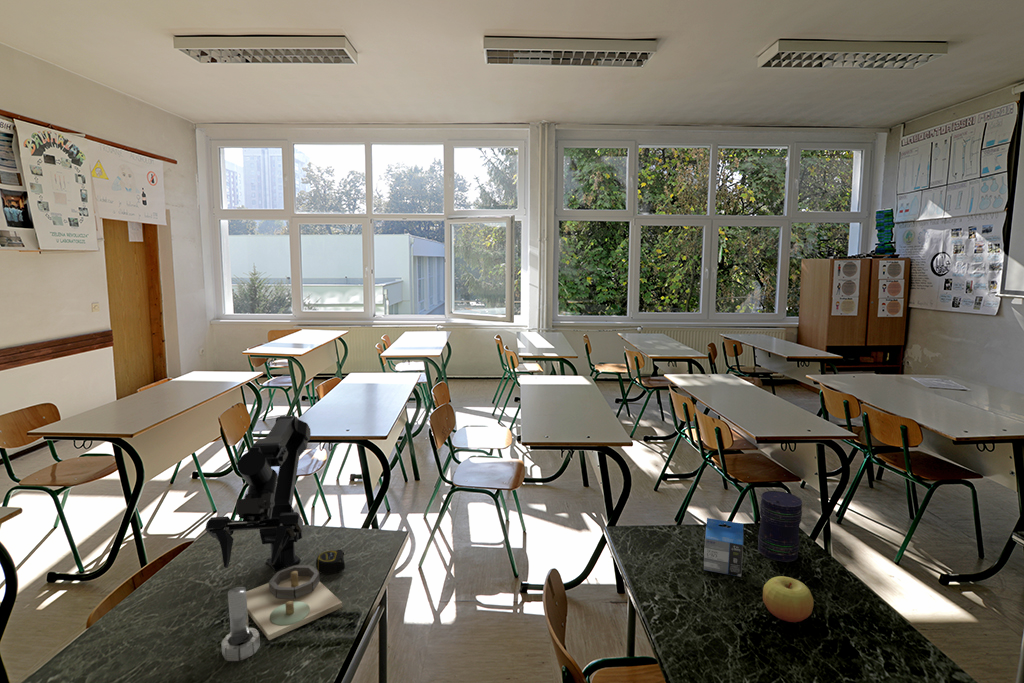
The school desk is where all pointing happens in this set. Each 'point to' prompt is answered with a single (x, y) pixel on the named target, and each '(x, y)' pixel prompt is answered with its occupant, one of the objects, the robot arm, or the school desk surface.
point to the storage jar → (779, 525)
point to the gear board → (290, 600)
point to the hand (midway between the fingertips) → (249, 565)
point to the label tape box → (723, 547)
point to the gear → (239, 628)
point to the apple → (788, 599)
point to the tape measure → (330, 562)
